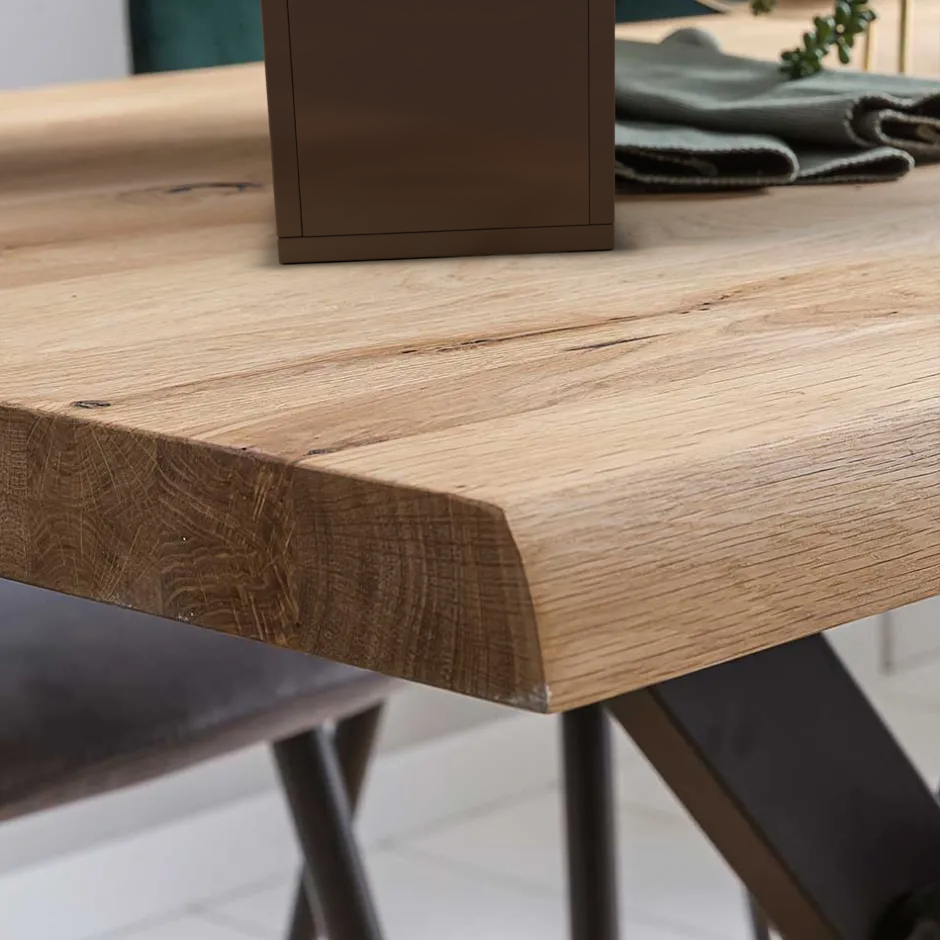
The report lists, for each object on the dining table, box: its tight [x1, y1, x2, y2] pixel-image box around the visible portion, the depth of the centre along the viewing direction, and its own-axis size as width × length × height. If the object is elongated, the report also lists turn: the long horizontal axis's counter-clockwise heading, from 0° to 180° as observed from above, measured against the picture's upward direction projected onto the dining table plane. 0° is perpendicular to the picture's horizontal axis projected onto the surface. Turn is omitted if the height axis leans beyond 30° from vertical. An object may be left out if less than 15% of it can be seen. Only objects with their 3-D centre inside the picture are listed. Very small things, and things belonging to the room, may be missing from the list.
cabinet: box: [259, 0, 616, 264], centre depth 60 cm, size 14×12×10 cm
